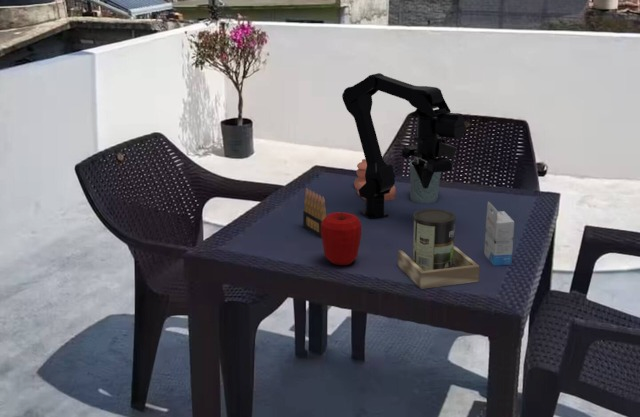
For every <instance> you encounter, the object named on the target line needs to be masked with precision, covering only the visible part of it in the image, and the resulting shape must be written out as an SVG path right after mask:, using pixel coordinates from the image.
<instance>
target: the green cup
mask: <svg viewBox="0 0 640 417" xmlns="http://www.w3.org/2000/svg"><path fill="white" fill-rule="evenodd" d="M412 162H414V159H413V160H411V161H410V162H409V175H410V176H409V178H410V180H409V181H410V182H409V184H410V187H409V188H410V189H409V190H410V192H409V194H410V195H409V196H410V197H409V198H410V200H411V202H412V203H416V204H417V203H418V204H423V205H424V204H426V205H427V204H433V203H436V202H437V201H438V199H439V198H438V196H439V187H440V181H441V180H440V179H441V175H442V172H434V174H433V176H432V179H431V181H430V184H429V186H428V188H426V189H425V188H423V186H422V184H421V181H420V179H419V177H418V174H417V172H416V170H415V168H414V166H413V165H412Z"/></svg>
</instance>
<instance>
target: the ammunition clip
mask: <svg viewBox="0 0 640 417" xmlns="http://www.w3.org/2000/svg"><path fill="white" fill-rule="evenodd" d="M303 203H304V207H303V208H304V210H303V213H302V214H303V215H302V216H303V219H302V220H303V221H302V222H303V223H302V228H303V227H304V229H305V230H306V231H308V230H309V231H308V232H310V231H311V232H310V233H312V234H313V233H314V235H315V236H316V237H318V238H320V239H322V236H321V222H322V221H323V220H324V219H325V217H326V216H327V210H326V201H325V197H324V195H322V196H321V194H318V192H316V193H315V191H314V190H313V191H312V190H311V189H308V187H306V189H305V193H304V202H303Z"/></svg>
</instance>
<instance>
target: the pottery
mask: <svg viewBox="0 0 640 417" xmlns="http://www.w3.org/2000/svg"><path fill="white" fill-rule="evenodd" d="M366 167H367V163H366V159H365V158H364V159H362V160H361V162H359V163H357V165H356V168H357V169H356V175H357V177H355V180H354V183H353V185H354V189H356V191H357V192H356V193H357V195H358V196H359V197H360V194H359V189H360V188H361V187H362V186H363V185H364V184H365V183H366V180H365V172H366ZM396 188H397V187H396V186H395V185H393V187H392V188H391V190H390V193H387V194H385V195H384V201H390V200H396ZM361 198H362V200H364V201H365V198H363V197H361Z"/></svg>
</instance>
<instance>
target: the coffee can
mask: <svg viewBox="0 0 640 417" xmlns="http://www.w3.org/2000/svg"><path fill="white" fill-rule="evenodd" d="M412 217H413V235H412V236H413V237H412V239H413V241H412V260H413V261H414V262H415V263H416V264H417V265H418V266H419V267H420V268H421V269H422V270H423V271H428V270H436V269H444V268H452V267H453V265H454V264H453V247H454V246H455V245H454V244H455V224H456V223H455V222H456V217H457V216H456V214H455V213H453V212H452V211H450V210H445V209H440V208H426V209H420V210H417V211H415V212H414V213H413V216H412Z"/></svg>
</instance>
